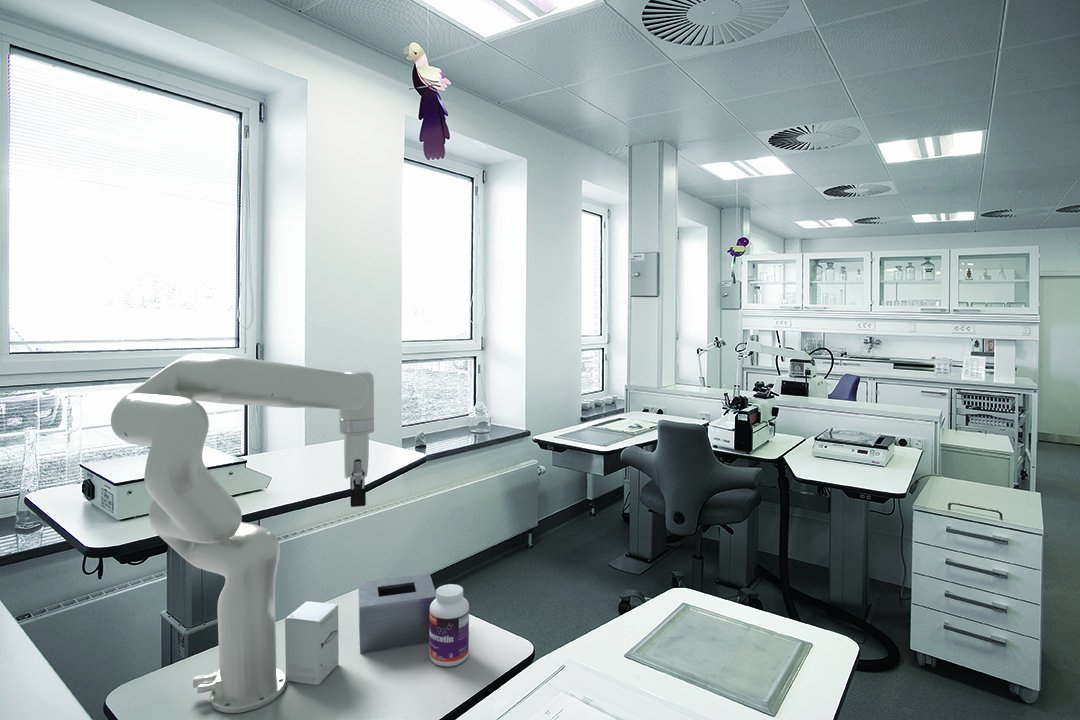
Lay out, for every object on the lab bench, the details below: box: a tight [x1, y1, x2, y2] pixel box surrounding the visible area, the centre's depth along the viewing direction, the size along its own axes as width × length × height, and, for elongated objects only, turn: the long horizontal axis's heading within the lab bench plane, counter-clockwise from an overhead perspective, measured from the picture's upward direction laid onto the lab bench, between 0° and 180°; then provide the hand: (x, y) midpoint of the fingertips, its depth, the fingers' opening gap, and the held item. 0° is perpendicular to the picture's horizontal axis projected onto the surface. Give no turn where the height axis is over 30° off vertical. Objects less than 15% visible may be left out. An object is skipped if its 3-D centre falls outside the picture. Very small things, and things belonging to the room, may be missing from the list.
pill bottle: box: [428, 583, 470, 667], centre depth 121 cm, size 8×8×14 cm
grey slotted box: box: [357, 573, 436, 654], centre depth 131 cm, size 16×12×10 cm
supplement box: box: [284, 600, 340, 686], centre depth 116 cm, size 7×7×13 cm
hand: (357, 499), depth 135 cm, fingers open, 9 cm apart
